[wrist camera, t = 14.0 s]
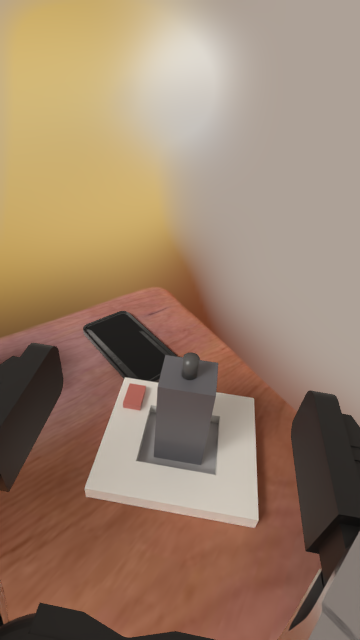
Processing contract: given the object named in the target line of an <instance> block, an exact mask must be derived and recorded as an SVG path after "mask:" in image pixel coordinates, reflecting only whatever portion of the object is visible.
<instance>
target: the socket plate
mask: <svg viewBox="0 0 360 640" xmlns="http://www.w3.org/2000/svg"><path fill="white" fill-rule="evenodd" d="M157 388H158V383H157V382H151V381H144V380H138V379H132V378H126V377H125V379H124V381H123V384H122V387H121V390H120V392H119V395H118V398H117V400H116V403H115V406H114V409H113V411H112V414H111V417H110V420H109V422H108V425H107V428H106V431H105V433H104V436H103V439H102V442H101V444H100V447H99V450H98V453H97V455H96V458H95V461H94V464H93V466H92V469H91V472H90V475H89V477H88V480H87V483H86V486H85V488H84V489H85V494H86V497H91V498H96V499H101V500H107V501H112V502H118V503H123V504H128V505H134V506H139V507H145V508H150V509H155V510H161V511H166V512H171V513H177V514H182V515H188V516H193V517H198V518H204V519H209V520H215V521H220V522H225V523H231V524H236V525H241V526H247V527H252V528H255V527H256V525H257V523H258V521H259V518H258V491H257V463H256V436H255V409H254V398H250V397H243V396H237V395H231V394H225V393H219V392H216V398H215V403H214V407H213V412H212V417H211V421H210V426H209V431H208V435H207V440H206V444H205V449H204V454H203V458H202V463H201V465H196V464H191V463H185V462H179V461H173V460H167V459H161V458H155V457H154V441H155V424H156V406H157Z"/></svg>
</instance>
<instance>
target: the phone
mask: <svg viewBox="0 0 360 640" xmlns="http://www.w3.org/2000/svg"><path fill="white" fill-rule="evenodd" d="M83 331H84V335H85V336H86V337H87V338H88V339H89V340H90V341H91V343H92V344H93V345H94V346H95V347H96V348H97V349H98V350H99V351H100V353H101V354H102V355H103V356H104V357H105V358H106V359H107V360H108V361H109V362H110V364H111V365H112V366H113V367H114V368H115V369H116V370H117V371H118V372H119V374H120V375H121V376H122V377H123V378H124V379H125V377H126V378H132V379H138V380H144V381H151V382H157V383H159V379H160V375H161V371H162V367H163V363H164V359H165V355H169V356H175V357H177V356H176V355H175V354H174V353H173V352H172V351H171V350H170V349H168V348H167V347H166V346H165V345H164V344H163V343H162V342H161V341H160V340H158V339H157V338H156V337H155V336H154V335H153V334H152V333H151V332H150V331H148V330H147V329H146V328H145V327H144V326H143V325H142V324H141V323H140V322H139V321H137V320H136V319H135V318H134V317H133V316H132V315H131V314H130V313H128V312H126V311H120V312H117V313H114V314H112V315H109V316H107V317H104V318H102V319H99V320H96V321H94V322H91V323H89V324H86V325H85V326H84V328H83Z"/></svg>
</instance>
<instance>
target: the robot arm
mask: <svg viewBox="0 0 360 640" xmlns="http://www.w3.org/2000/svg"><path fill="white" fill-rule="evenodd" d="M62 387H63V374H62V368H61V362H60V357H59V351H58V348H57V347H55V346H50V345H44V344H38V343H31V344H30V345H29V346H28V347H27V349H26V350H25V351H24V353H23V354H22V355H21V357H15V356H12V357H11V358H9V359H8V360H6V361H5V362H3V363H2V364H0V490H1V491H6V492H9V491H10V489H11V487H12V485H13V483H14V481H15V479H16V478H17V476H18V474H19V472H20V470H21V468H22V466H23V464H24V462H25V461H26V459H27V457H28V455H29V453H30V451H31V449H32V447H33V445H34V444H35V442H36V440H37V438H38V436H39V434H40V432H41V430H42V428H43V427H44V425H45V423H46V421H47V419H48V417H49V415H50V413H51V411H52V410H53V408H54V406H55V404H56V402H57V400H58V398H59V396H60V394H61V391H62ZM291 440H292V448H293V456H294V464H295V472H296V479H297V487H298V495H299V503H300V511H301V519H302V526H303V534H304V542H305V550H306V551H307V552H312V553H317V554H319V555H320V561H321V568H320V569H319V571H318V573H317V574H316V576H315V578H314V579H313V581H312V583H311V585H310V586H309V588H308V590H307V592H306V593H305V595H304V597H303V598H302V600H301V602H300V604H299V605H298V607H297V609H296V611H295V612H294V614H293V616H292V618H291V619H290V621H289V623H288V624H287V626H286V628H285V629H284V631H283V633H282V634H281V635H280V637H279V638H278V639H277V640H360V427H359V426H358V424H357V423H356V422H355V420H354V419H353V417H352V416H351V415H346V414H342V413H341V410H340V406H339V402H338V399H337V397H336V396H335V395H332V394H327V393H321V392H315V391H308V392H307V394H306V395H305V398H304V400H303V402H302V404H301V406H300V408H299V410H298V412H297V414H296V416H295V418H294V420H293V423H292V429H291ZM0 640H214V639H210V638H205V637H200V636H195V635H191V634H186V633H181V632H176V631H175V632H167V633H160V634H153V635H146V636H139V637H132V638H127V637H123V636H121V635H120V634H118V633H116V632H115V631H113V630H112V629H110V628H108V627H107V626H105V625H104V624H102V623H100V622H99V621H97V620H96V619H94V618H92V617H91V616H89V615H88V614H86V613H84V612H81V611H77V610H72V609H67V608H62V607H58V606H53V605H48V604H43V603H40V604H39V606H38V609H37V612H36V613H34V614H29V615H26V616H22V617H19V618H16V619H14V620H12V621H10V622H9V619H8V612H7V605H6V599H5V595H4V590H3V587H2V583H1V581H0Z"/></svg>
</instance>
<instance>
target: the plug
mask: <svg viewBox="0 0 360 640" xmlns="http://www.w3.org/2000/svg"><path fill="white" fill-rule="evenodd" d="M217 374H218V363H215V362H208V361H202V360H200V358H199V356H198V355H197V354H195V353H187V354H185V355H184V357H183V358H182V357H175V356H169V355H165V359H164V363H163V367H162V371H161V375H160V379H159V383H158V388H157V406H156V424H155V441H154V457H155V458H161V459H167V460H173V461H179V462H185V463H191V464H196V465H201V463H202V458H203V454H204V449H205V444H206V440H207V435H208V431H209V426H210V421H211V417H212V412H213V407H214V403H215V398H216V388H217Z"/></svg>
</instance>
